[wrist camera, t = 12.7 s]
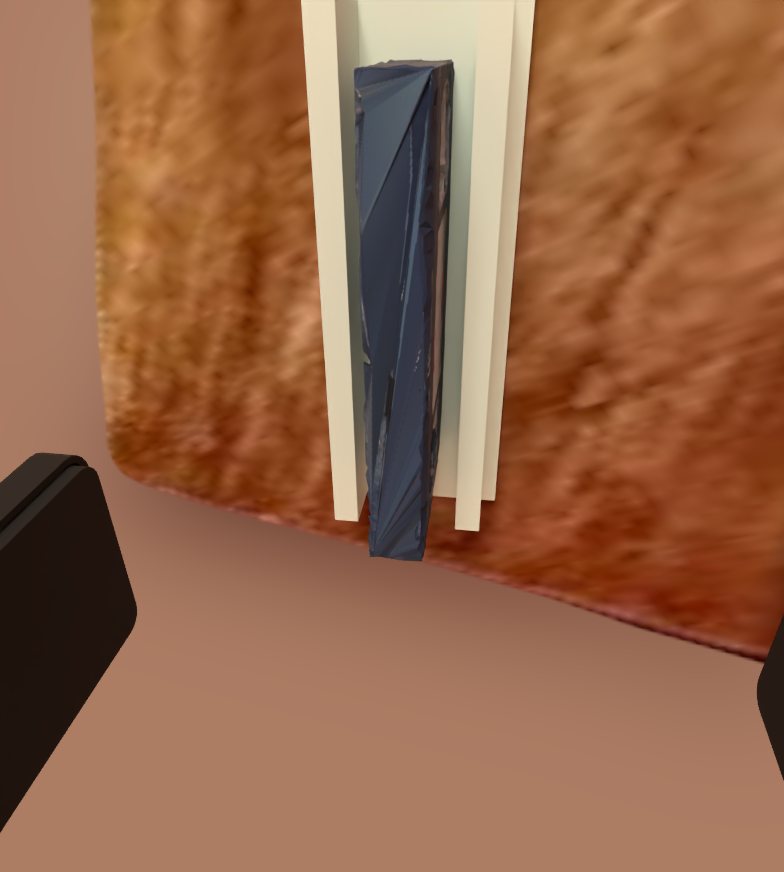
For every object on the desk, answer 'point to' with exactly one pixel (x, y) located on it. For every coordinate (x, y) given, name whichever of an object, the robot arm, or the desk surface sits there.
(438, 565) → the desk surface
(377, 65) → the vhs cassette tape
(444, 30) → the rack
